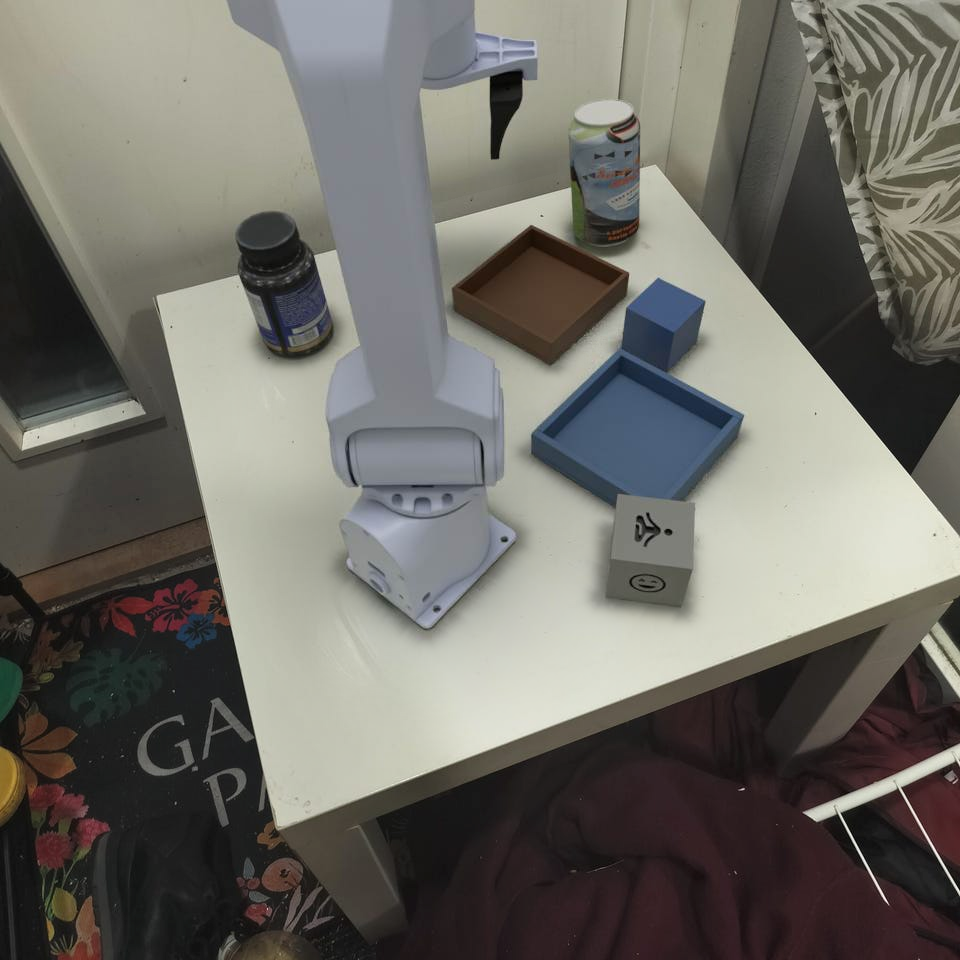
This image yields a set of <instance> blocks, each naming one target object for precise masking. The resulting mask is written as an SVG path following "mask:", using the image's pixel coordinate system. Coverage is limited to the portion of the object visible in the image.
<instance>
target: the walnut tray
mask: <svg viewBox="0 0 960 960" xmlns="http://www.w3.org/2000/svg"><path fill="white" fill-rule="evenodd" d="M629 279H630V272H629V271H627V270H625V269H623V268H621V267H619V266H617V265H614V264H613V263H611V262H609V261H606V260H604V259H602V258H600V257H598V256H596V255H594V254H592V253H590V252H589V251H586V250H584V249H582V248H580V247H578V246H576V245H574V244H572V243H570V242H568V241H565V240H563V239H561V238H559V237H557V236H556V235H553V234H551V233H549V232H547V231H545V230H544V229H541V228H539V227H538V226H535V225H533V224H530V225H529V226H527V227H526V228H525V229H524V230H522V231H521V232H520V233H519V234H517V235H516V236H515V237H514V238H512V239H511V240H510V241H509V242H507V243H506V244H504V246H502V247H501V248H500V249H499V250H497V251H496V252H495V253H493V254H492V255H491V256H490V257H488V259H486V260H485V261H483V262H482V263H481V264H480V265H479V266H477V267H476V268H475V269H473V271H471V272H469V273H468V274H467V275H466V276H465V277H463V279H461V280H459V282H457V283H456V284H455V285H454V286H453V287H451V295H452V296H451V297H452V306H453V310H454V311H455V312H457V313H458V314H461V315H462V316H464V317H466V318H467V319H469V320H471V321H473V322H474V323H476V324H478V325H480V326H481V327H483V328H485V329H487V330H488V331H490V332H492V333H493V334H495V335H497V336H499V337H501V338H502V339H504V340H506V341H508V342H510V343H511V344H513V345H514V346H516V347H518V348H520V349H521V350H523V351H525V352H527V353H528V354H530V355H532V356H534V357H536V358H537V359H539V360H541V361H543V362H544V363H546V364H548V365H549V366H552V365H553V364H554V363H555V362H556V361H557V360H559V358H560V357H562V356H563V355H564V354H565V353H566V352H567V351H568V350H569V349H570V348H571V347H572V346H573V345H574V344H576V342H578V341H579V340H580V339H581V338H582V337H583V336H585V334H586V333H587V332H589V330H591V329H592V328H593V327H594V326H595V325H596V324H597V323H598V322H600V320H601V319H603V318H604V317H605V316H606V315H607V314H608V313H610V311H611V310H612V309H613V308H615V307H616V306H617V305H618V304H619V303H620V302H621V301H622V300H623V299H624V298H625V297H626V296H627V295H628V288H629V281H630V280H629Z"/></svg>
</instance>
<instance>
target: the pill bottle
mask: <svg viewBox="0 0 960 960" xmlns="http://www.w3.org/2000/svg"><path fill="white" fill-rule="evenodd" d="M234 236H235V241H236V244H237V247H238V250H239V252H240V255H239V258H238V262H237V273H238V278H240V282H241V284H242V287H243V290H244V293H245V296H246V297H247V301H248V304H249V306H250V308H251V311H252V314H253V317H254V320H255V323H256V325H257V328H258V330H259V334H260V335H261V339H262V341H263V343H264V344H265V346H266V347H267V348H268V350H270V351H271V352H272V353H274V354H276V355H280V356H283V357H300V356H301V357H302V356H305V355H309V354H311V353H312V354H313V353H314V352H316V351H317V350H320V349H321V348H322V347H323V346H324V345H325V344H326V343H328V341H329V340H330V338H331V336H332V333H333V328H334V324H333V320H332V315H331V313H330V308H329V306H328V301H327V298H326V294H325V291H324V290H325V289H324V287H323V283H322V280H321V276H320V271H319V269H318V265H317V261H316V257H315V254H314V252H313V250H312V248H311V246H309V244H307V242H306V241H304V240H303V239H301V238H300V237H301V236H300V233H299V229H298V227H297V223H296V221H295V220H294V218H293V217H292V216H291V215H289V214H287V213H286V212H282V211H277V210H269V211H266V210H265V211H260V212H258V213H255V214H252V215H250V216H248V217H247V218H245V219H244V220H243V221H241V222H240V223H239V225H238V226H237V228H236V230H235V233H234Z"/></svg>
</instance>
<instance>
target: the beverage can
mask: <svg viewBox="0 0 960 960" xmlns="http://www.w3.org/2000/svg"><path fill="white" fill-rule="evenodd" d="M633 106H634V105H632V104H631V103H629V102H628V101H625V100H623V99H618V98H601V99H594V100H591V101H588V102H585V103H583V104H581V105H579V107H577V108H576V109H575V111H574V113H573V114H574V115H573V116H574V117H573V119H572V120H571V122H570V124H569V127H568V135H567V136H568V151H569V171H570V172H569V173H570V191H571V192H570V193H571V209H572V210H571V212H572V227H573V228H572V229H573V233H574V235H575V237H577V238H578V239H579V240H581V241H582V242H585V243H586V244H588V245H590V246H592V247H593V246H594V247H598V248H599V247H600V248H606V247H607V248H608V247H614V246H618V245H621V244H622V243H625V242H626V241H628V240H629V239H631V238H632V237H633V236H634V235H635V234H636V233H637V232H638V230H639V228H640V199H641V198H640V194H641V193H640V189H641V187H640V186H641V122H640V120H639V118H638V116H637V115H636V114H635V112H634V107H633Z"/></svg>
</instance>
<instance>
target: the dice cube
mask: <svg viewBox="0 0 960 960" xmlns="http://www.w3.org/2000/svg"><path fill="white" fill-rule="evenodd" d="M614 510H615V511H614V517H613V523H612V524H613V525H612V531H611V539H610V549H609V558H608V566H607V567H608V568H607V576H606V577H607V578H606V585H605V586H606V587H605V589H606V590H605V595H604V596H605V598H610V599H619V600H626V601H633V602H640V603H647V604H654V605H663V606H670V607H679V608H681V607H682V605H683V603H684V598H685V596H686V593H687V589H688V585H689V582H690V579H691V576H692V573H693V570H694V545H695V521H696V520H695V519H696V517H695V516H696V502H691V501H684V500H682V501H675V500H666V499H658V498H649V497H640V496H632V495H623V494H618V496H617V503H616V507H615V509H614Z"/></svg>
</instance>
